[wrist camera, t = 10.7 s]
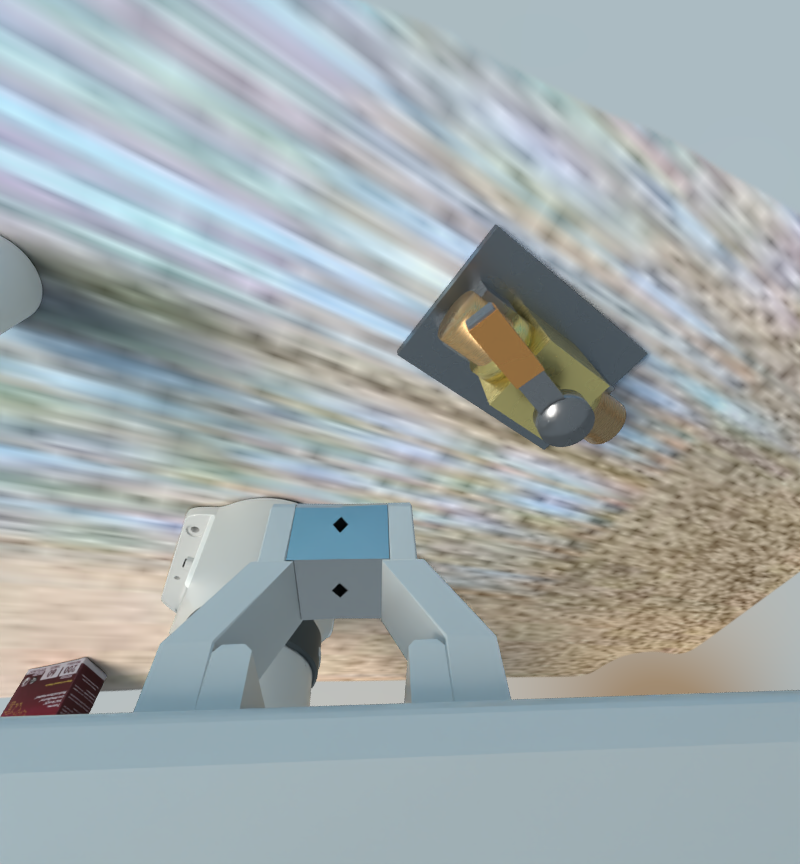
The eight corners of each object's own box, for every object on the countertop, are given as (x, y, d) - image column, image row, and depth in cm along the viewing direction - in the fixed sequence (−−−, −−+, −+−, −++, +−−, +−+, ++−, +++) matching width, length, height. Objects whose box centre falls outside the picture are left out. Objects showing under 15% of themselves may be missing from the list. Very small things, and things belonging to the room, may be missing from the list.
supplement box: (86, 654, 61) (8, 805, 48) (108, 674, 64) (41, 822, 51) (25, 668, 62) (-66, 819, 49) (50, 687, 65) (-30, 835, 52)
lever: (596, 413, 33) (604, 425, 32) (550, 443, 34) (556, 455, 33) (502, 289, 28) (508, 298, 27) (452, 329, 29) (455, 339, 28)
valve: (541, 444, 46) (577, 515, 38) (397, 350, 40) (403, 412, 32) (643, 349, 41) (707, 408, 33) (495, 224, 35) (532, 260, 27)
